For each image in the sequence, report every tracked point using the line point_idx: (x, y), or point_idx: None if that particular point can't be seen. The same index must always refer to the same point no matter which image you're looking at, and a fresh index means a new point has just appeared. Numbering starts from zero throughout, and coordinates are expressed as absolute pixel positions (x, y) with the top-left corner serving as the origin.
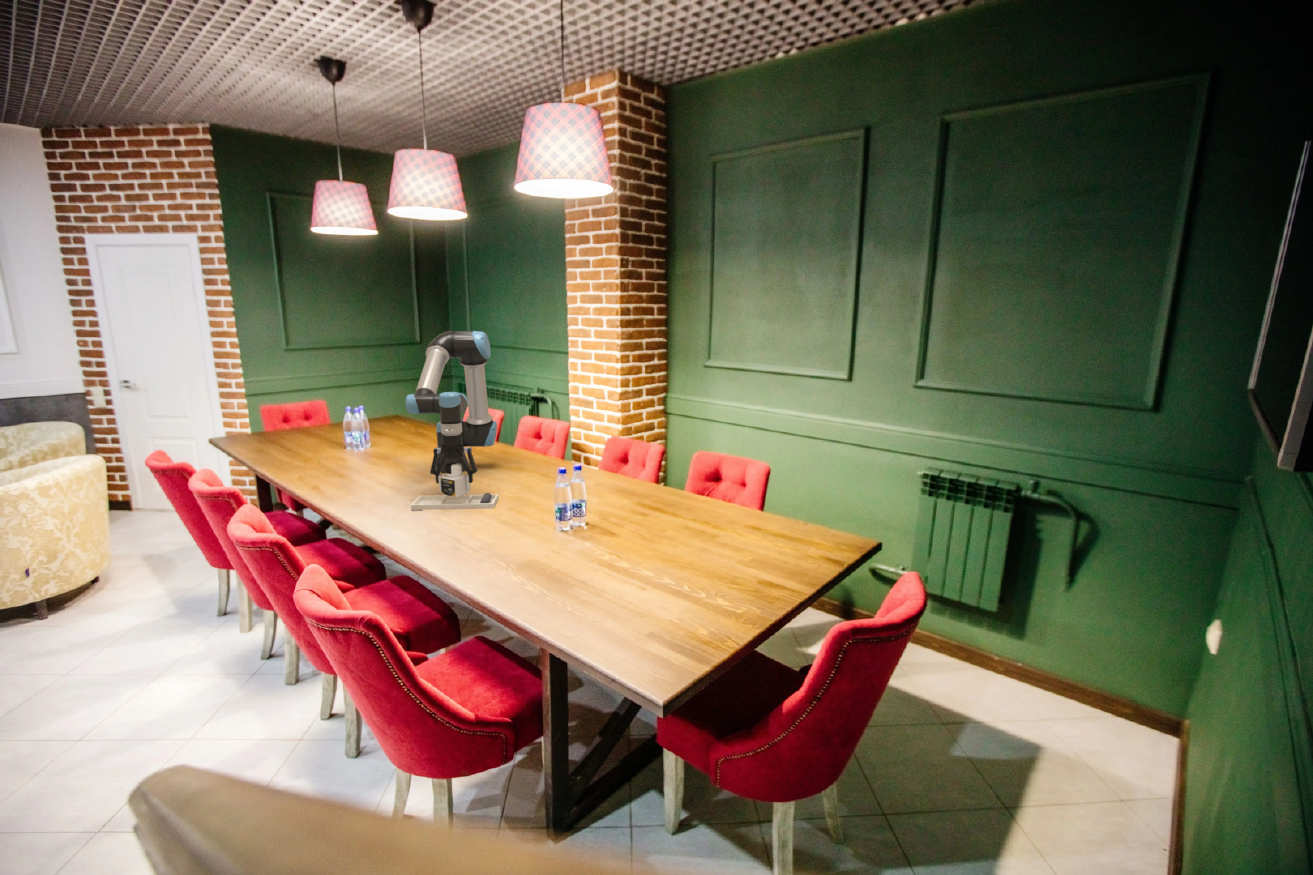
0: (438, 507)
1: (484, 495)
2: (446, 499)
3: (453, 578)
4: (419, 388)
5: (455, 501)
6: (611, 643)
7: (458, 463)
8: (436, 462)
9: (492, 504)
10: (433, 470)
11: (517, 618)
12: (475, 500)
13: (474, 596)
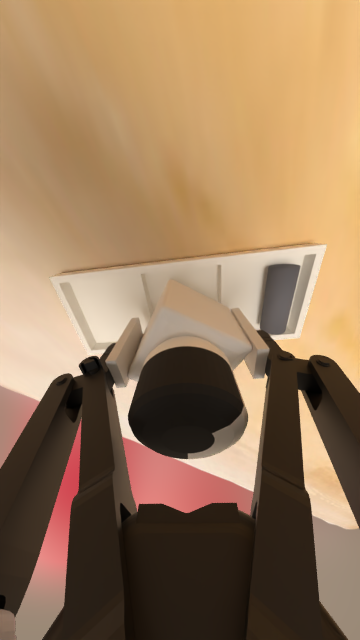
0: None
1: (279, 295)
2: (144, 276)
3: (244, 484)
4: None
5: None
6: (344, 517)
7: (225, 433)
8: (51, 451)
9: (295, 337)
10: (79, 414)
11: None
12: (236, 270)
13: None
